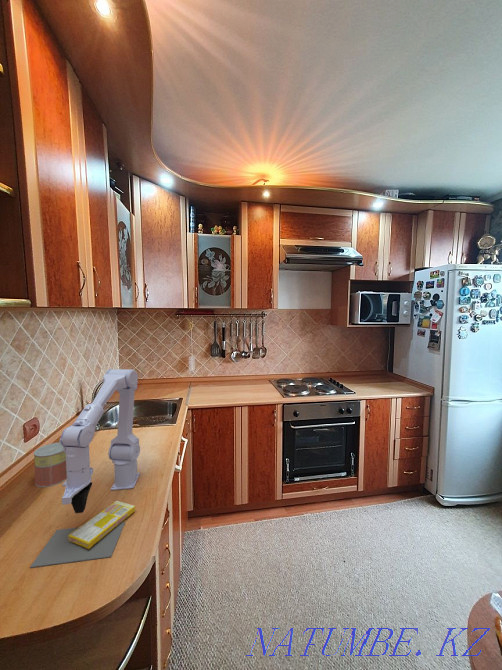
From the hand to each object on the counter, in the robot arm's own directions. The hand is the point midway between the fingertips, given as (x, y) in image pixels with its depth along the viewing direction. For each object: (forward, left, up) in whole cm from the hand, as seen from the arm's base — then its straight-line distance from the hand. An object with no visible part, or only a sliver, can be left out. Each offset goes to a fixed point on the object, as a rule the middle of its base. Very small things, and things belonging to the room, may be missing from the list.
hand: (80, 511), depth 78 cm
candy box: (-3, +3, -5) cm, 6 cm away
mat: (+5, +3, -6) cm, 8 cm away
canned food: (-30, -23, -6) cm, 38 cm away
